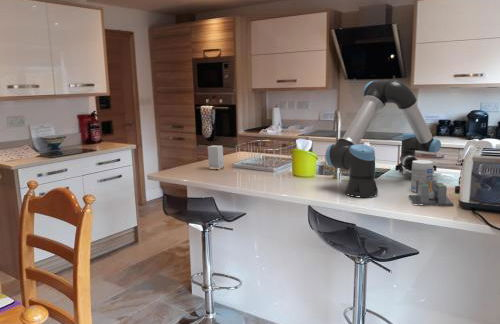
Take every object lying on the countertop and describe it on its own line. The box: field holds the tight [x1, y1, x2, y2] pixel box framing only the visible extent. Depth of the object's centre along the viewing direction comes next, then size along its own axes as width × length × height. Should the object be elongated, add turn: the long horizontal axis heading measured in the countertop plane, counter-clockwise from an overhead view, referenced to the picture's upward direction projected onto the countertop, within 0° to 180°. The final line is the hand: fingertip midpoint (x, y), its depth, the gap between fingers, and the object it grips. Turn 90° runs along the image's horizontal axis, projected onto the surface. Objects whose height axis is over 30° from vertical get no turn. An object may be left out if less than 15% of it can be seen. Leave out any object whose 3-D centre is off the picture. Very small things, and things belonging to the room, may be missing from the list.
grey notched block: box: [408, 182, 454, 207], centre depth 178 cm, size 12×16×8 cm
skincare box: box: [207, 144, 225, 168], centre depth 265 cm, size 8×7×16 cm
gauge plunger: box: [414, 179, 438, 199], centre depth 182 cm, size 10×9×8 cm
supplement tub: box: [410, 159, 434, 193], centre depth 195 cm, size 10×10×15 cm
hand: (418, 171), depth 203 cm, fingers open, 13 cm apart
